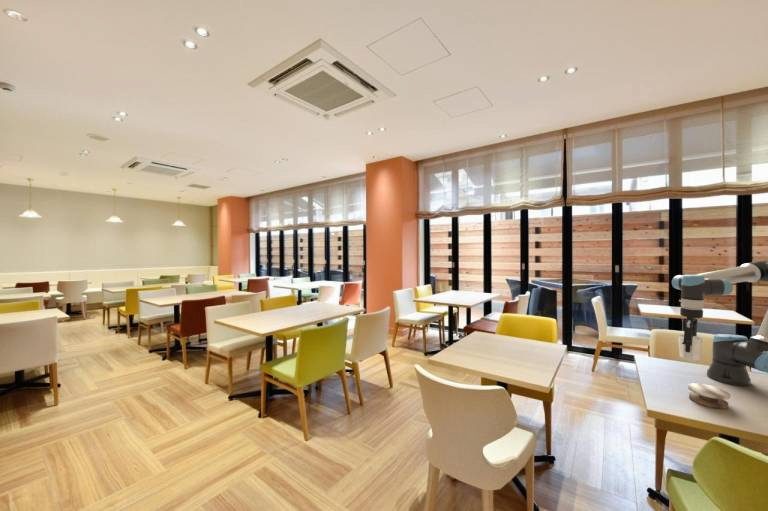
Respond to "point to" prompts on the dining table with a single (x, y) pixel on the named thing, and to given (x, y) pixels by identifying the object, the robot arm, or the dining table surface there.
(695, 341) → the white cup
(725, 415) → the dining table surface
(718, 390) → the cake stand
